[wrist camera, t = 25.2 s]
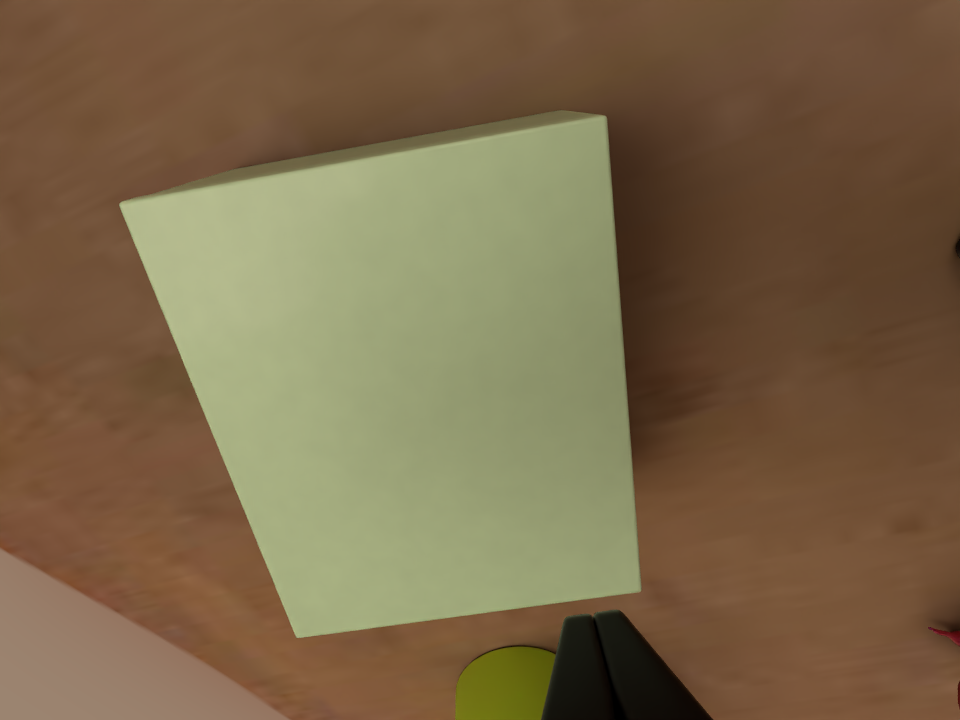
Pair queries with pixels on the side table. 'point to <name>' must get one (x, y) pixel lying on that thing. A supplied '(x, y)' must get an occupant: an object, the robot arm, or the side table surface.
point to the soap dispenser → (505, 685)
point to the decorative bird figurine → (956, 637)
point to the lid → (413, 372)
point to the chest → (386, 147)
